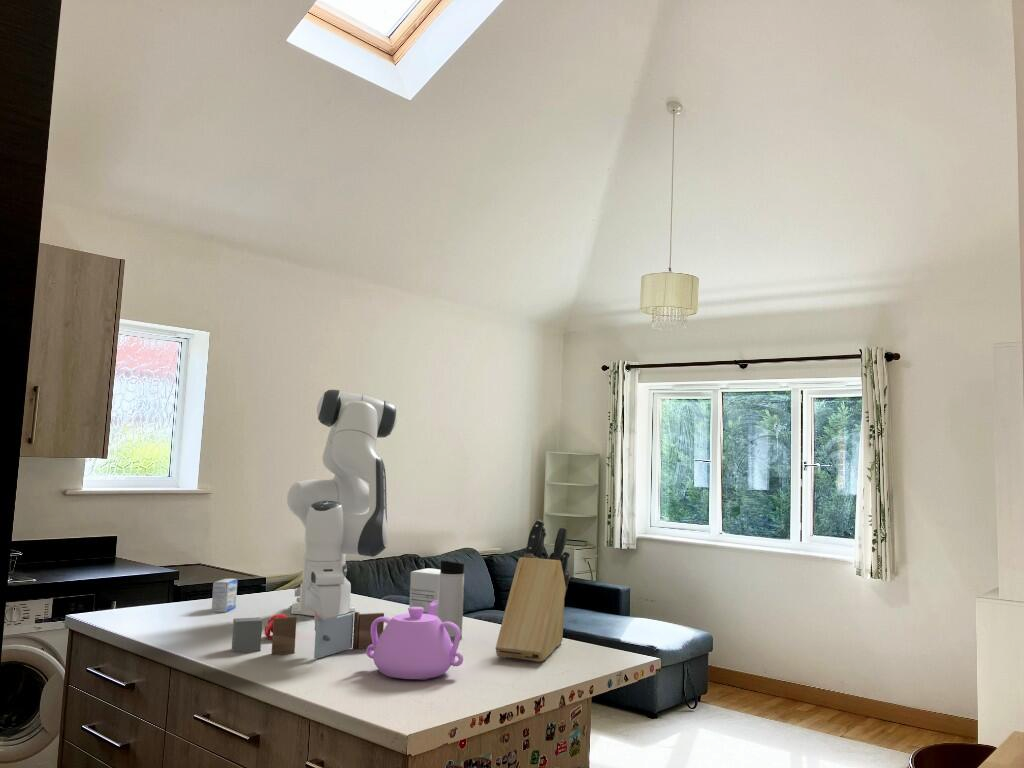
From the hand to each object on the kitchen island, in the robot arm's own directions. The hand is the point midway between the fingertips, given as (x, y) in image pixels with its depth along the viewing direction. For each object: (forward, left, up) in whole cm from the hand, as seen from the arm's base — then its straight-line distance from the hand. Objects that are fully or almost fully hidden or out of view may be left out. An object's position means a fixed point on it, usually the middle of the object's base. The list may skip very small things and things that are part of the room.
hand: (319, 632), depth 185 cm
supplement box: (-25, +36, -5) cm, 45 cm away
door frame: (-3, +2, -5) cm, 6 cm away
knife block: (+8, +52, -5) cm, 53 cm away
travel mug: (-7, +35, -5) cm, 36 cm away
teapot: (+21, +17, -5) cm, 27 cm away
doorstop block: (-9, -15, -5) cm, 18 cm away
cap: (-20, -6, -5) cm, 22 cm away
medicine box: (-62, -15, -5) cm, 64 cm away
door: (+1, +4, -5) cm, 6 cm away
